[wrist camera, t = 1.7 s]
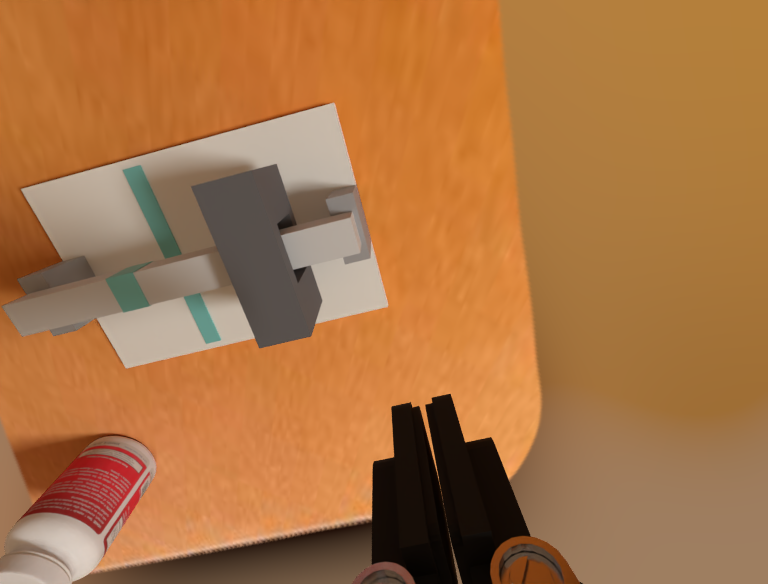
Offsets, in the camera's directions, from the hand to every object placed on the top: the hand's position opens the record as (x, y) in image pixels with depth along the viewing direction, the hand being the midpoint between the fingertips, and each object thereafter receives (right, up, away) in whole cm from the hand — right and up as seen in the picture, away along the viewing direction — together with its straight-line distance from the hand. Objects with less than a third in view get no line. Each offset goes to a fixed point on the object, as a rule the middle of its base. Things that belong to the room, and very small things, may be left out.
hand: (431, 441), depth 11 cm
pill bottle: (-25, -11, +24) cm, 36 cm away
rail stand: (-13, +7, +17) cm, 22 cm away
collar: (-8, +7, +14) cm, 17 cm away
